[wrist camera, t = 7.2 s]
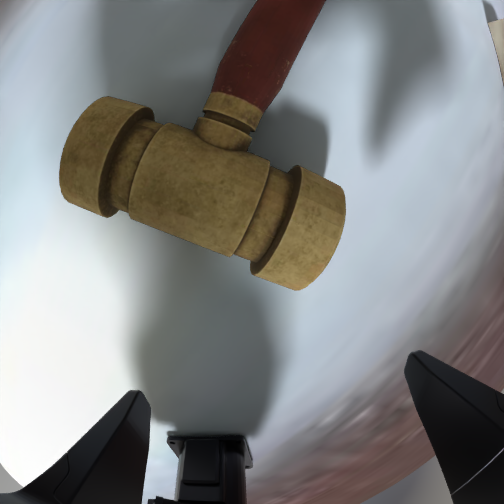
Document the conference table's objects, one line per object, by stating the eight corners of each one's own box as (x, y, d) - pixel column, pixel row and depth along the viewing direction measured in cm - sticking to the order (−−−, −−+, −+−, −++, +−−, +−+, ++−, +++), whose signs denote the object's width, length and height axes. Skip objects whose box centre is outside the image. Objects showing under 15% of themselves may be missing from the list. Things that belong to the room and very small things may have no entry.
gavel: (270, -123, 2) (438, -50, 4) (262, -82, 7) (402, -22, 9) (44, 211, 8) (305, 313, 10) (97, 194, 12) (283, 267, 14)
